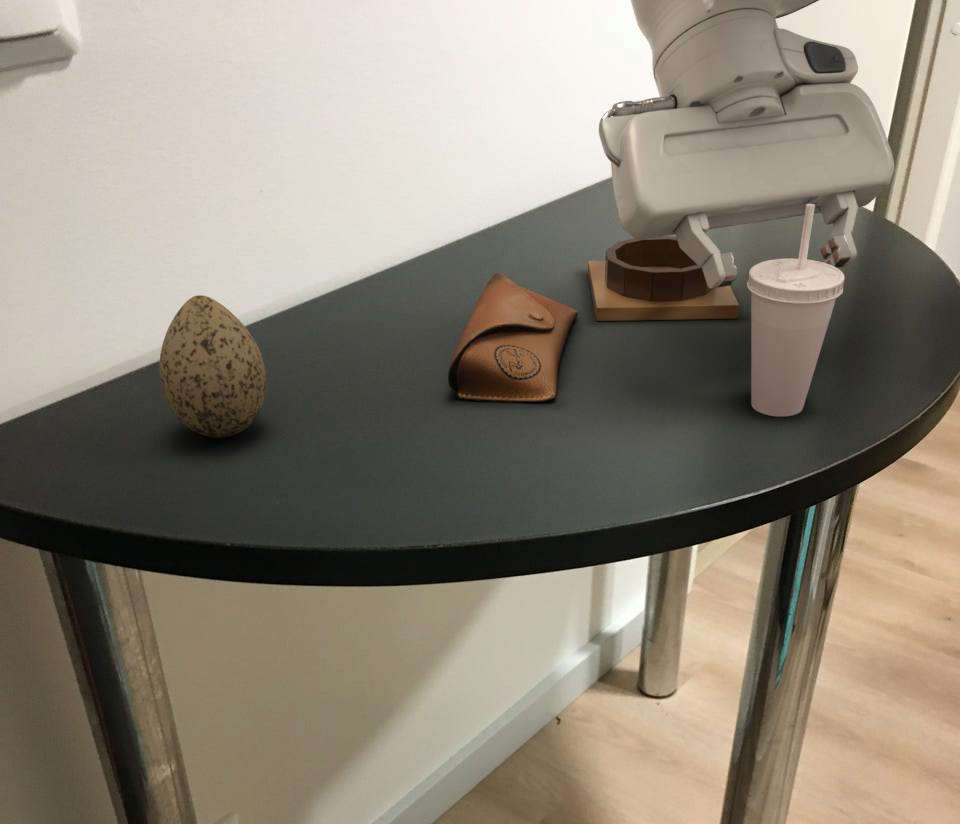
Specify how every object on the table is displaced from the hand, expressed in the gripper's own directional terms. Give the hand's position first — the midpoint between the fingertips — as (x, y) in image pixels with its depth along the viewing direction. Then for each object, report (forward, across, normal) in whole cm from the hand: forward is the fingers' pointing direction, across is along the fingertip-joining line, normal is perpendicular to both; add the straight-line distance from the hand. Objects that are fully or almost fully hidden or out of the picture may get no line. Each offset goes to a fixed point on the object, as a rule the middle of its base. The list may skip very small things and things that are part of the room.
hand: (784, 273), depth 76 cm
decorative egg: (-1, -38, +14) cm, 41 cm away
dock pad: (-9, +3, +22) cm, 24 cm away
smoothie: (+8, 0, +6) cm, 10 cm away
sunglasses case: (-4, -14, +17) cm, 22 cm away
